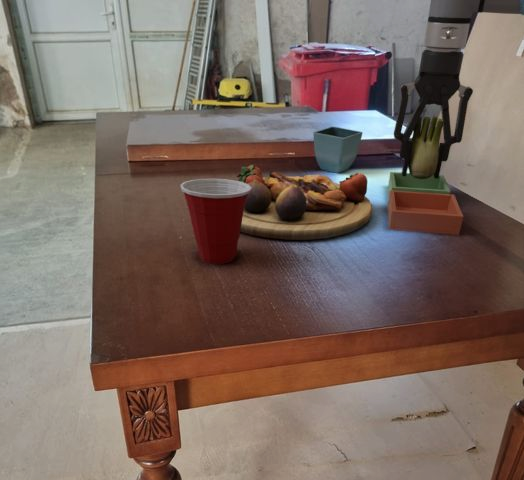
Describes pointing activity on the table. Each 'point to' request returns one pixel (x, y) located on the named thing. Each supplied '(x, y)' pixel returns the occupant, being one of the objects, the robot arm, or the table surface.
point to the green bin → (417, 184)
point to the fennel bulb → (425, 148)
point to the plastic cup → (216, 216)
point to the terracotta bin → (424, 212)
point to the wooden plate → (303, 205)
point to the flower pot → (336, 148)
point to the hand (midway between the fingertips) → (419, 175)
